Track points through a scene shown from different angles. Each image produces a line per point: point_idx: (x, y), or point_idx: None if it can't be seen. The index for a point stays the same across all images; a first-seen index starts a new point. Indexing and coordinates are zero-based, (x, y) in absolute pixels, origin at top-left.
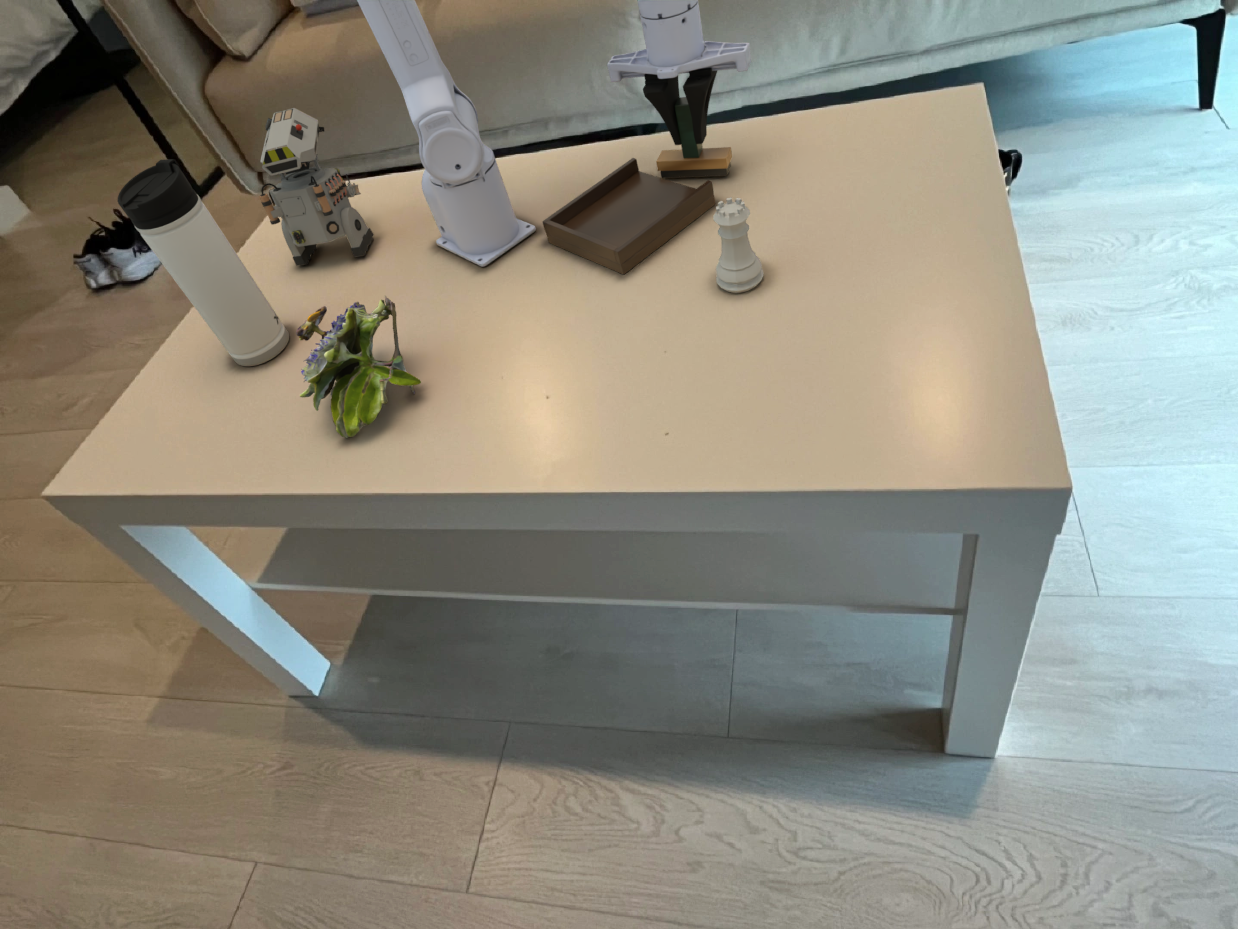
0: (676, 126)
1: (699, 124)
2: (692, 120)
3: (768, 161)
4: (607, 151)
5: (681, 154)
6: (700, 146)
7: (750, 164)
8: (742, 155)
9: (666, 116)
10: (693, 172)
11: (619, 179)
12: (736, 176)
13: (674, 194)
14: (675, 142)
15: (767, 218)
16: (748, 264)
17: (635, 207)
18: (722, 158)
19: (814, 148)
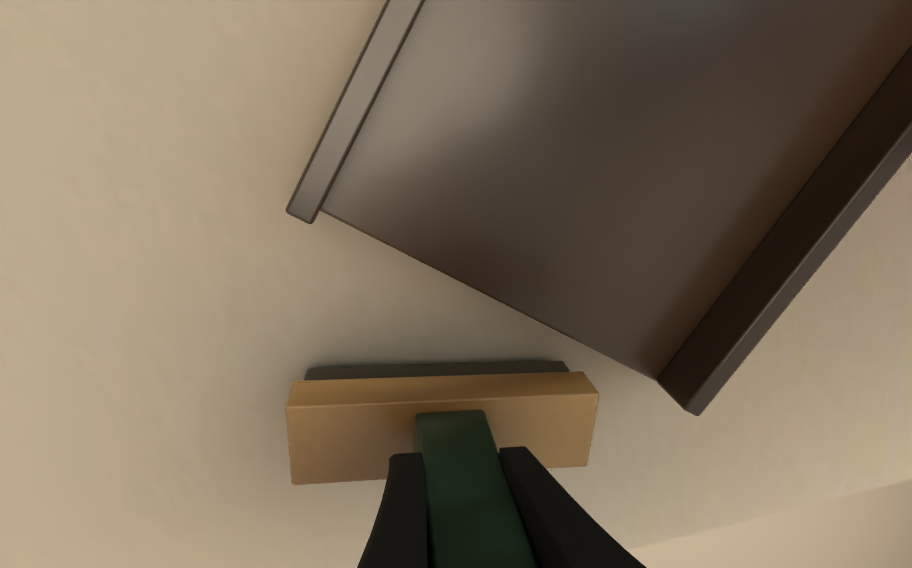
0: (531, 521)
1: (381, 527)
2: (423, 546)
3: (183, 462)
4: (758, 510)
5: (499, 436)
6: None
7: (248, 446)
8: (298, 494)
9: (605, 563)
10: (441, 373)
11: (730, 305)
12: (278, 376)
13: (483, 208)
14: (525, 451)
15: (2, 52)
16: None
17: (641, 116)
18: (302, 405)
19: (30, 534)
